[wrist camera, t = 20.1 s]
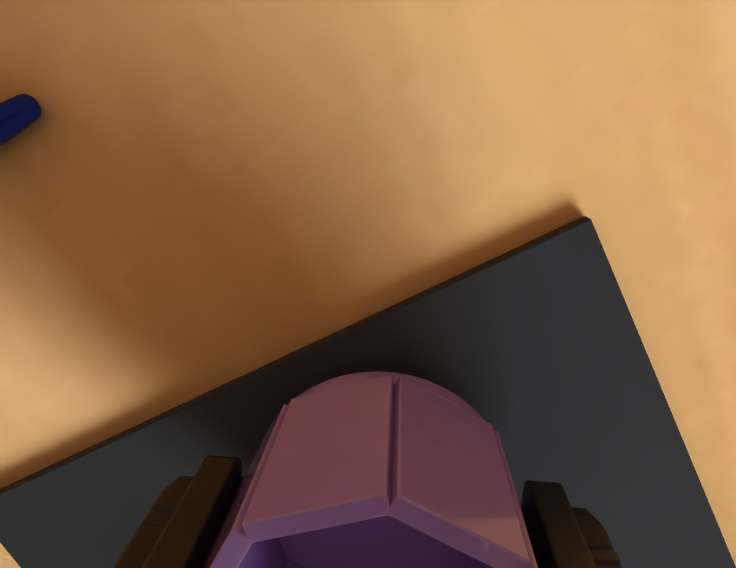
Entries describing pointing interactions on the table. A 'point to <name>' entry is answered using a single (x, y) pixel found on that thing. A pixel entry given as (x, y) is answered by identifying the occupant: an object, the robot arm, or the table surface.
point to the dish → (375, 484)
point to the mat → (452, 371)
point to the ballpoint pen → (17, 115)
